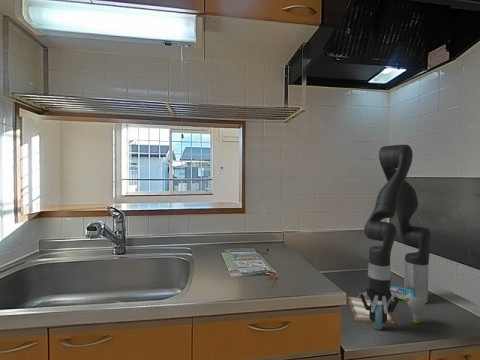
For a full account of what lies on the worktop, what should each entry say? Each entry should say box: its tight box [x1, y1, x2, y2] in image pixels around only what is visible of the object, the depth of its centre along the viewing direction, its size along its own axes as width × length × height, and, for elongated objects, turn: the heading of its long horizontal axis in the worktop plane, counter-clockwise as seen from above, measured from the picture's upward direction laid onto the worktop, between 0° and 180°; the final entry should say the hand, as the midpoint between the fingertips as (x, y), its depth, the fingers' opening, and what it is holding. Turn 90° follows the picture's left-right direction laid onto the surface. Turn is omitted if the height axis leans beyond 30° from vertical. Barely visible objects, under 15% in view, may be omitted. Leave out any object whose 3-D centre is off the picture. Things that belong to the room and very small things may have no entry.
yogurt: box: [388, 285, 414, 305], centre depth 129 cm, size 12×2×6 cm, turn 61°
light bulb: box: [408, 297, 426, 324], centre depth 110 cm, size 6×6×10 cm
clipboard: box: [347, 295, 396, 326], centre depth 120 cm, size 20×14×2 cm
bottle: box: [372, 300, 384, 332], centre depth 106 cm, size 3×3×11 cm
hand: (378, 321), depth 106 cm, fingers closed on bottle, 3 cm apart
